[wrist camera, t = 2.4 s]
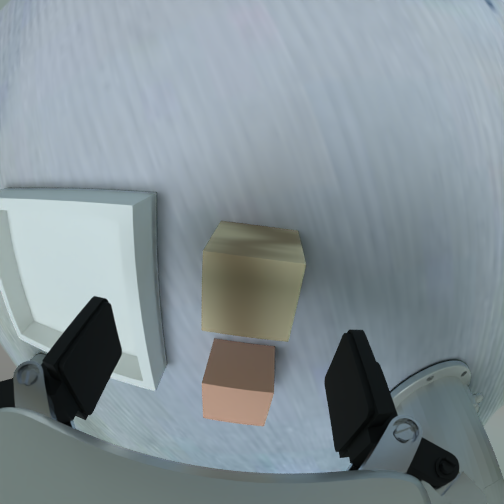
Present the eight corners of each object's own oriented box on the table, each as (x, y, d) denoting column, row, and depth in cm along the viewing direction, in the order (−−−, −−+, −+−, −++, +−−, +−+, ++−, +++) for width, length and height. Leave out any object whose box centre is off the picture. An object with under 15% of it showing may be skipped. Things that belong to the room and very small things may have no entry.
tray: (156, 192, 17) (132, 205, 14) (167, 364, 24) (155, 391, 20) (5, 188, 18) (-20, 197, 14) (35, 321, 24) (19, 338, 21)
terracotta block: (274, 345, 22) (273, 392, 17) (266, 382, 24) (264, 426, 19) (214, 337, 22) (201, 383, 17) (213, 375, 24) (203, 417, 19)
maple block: (297, 230, 18) (306, 264, 13) (285, 295, 20) (288, 341, 15) (221, 220, 18) (203, 250, 13) (216, 286, 20) (201, 330, 15)
